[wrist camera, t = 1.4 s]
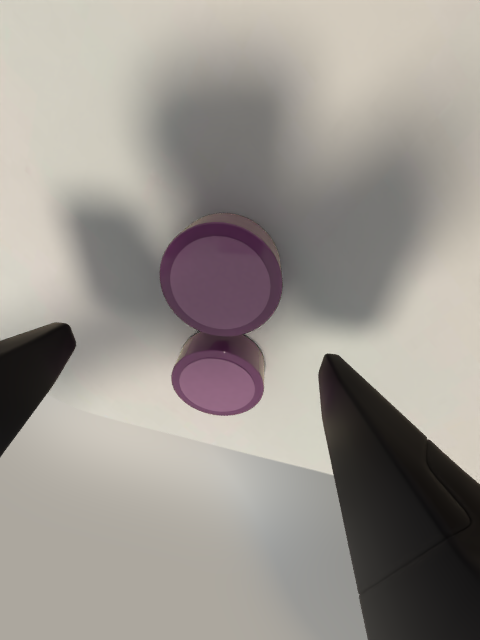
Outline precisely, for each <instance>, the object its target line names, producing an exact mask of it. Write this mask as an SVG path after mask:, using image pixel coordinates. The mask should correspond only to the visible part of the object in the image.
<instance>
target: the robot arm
mask: <svg viewBox="0 0 480 640" xmlns="http://www.w3.org/2000/svg"><path fill="white" fill-rule="evenodd" d="M75 347H76V341H75V338H74V335H73V333H72V330H71V327H70V326H69V325H68V324H66V323H52V324H49V325H46V326H43V327H40V328H37V329H34V330H31V331H28V332H25V333H22V334H19V335H16V336H13V337H10V338H7V339H5V340H2V341H0V457H1V455H2V454H3V453H4V451H5V450H6V448H7V447H8V446H9V444H10V443H11V442H12V440H13V439H14V438H15V436H16V435H17V434H18V432H19V431H20V430H21V428H22V427H23V426H24V424H25V423H26V421H27V420H28V419H29V417H30V416H31V415H32V413H33V412H34V411H35V409H36V408H37V406H38V405H39V404H40V402H41V401H42V400H43V398H44V397H45V396H46V394H47V393H48V392H49V390H50V389H51V387H52V386H53V384H54V383H55V381H56V380H57V378H58V376H59V375H60V373H61V371H62V370H63V368H64V366H65V365H66V363H67V361H68V360H69V358H70V356H71V355H72V353H73V351H74V349H75ZM318 378H319V390H320V401H321V412H322V420H323V426H324V431H325V435H326V440H327V445H328V450H329V454H330V459H331V464H332V469H333V474H334V478H335V483H336V488H337V493H338V497H339V502H340V507H341V512H342V517H343V522H344V526H345V531H346V535H347V541H348V546H349V550H350V555H351V560H352V564H353V570H354V574H355V578H356V584H357V589H358V593H359V594H360V595H359V599H360V604H361V609H362V614H363V618H364V623H365V628H366V633H367V637H368V640H480V484H479V483H477V482H476V481H475V480H474V479H473V478H472V477H470V476H469V475H468V474H467V473H466V472H465V471H463V470H462V469H461V468H460V467H459V466H458V465H457V464H456V463H454V462H453V461H452V460H451V459H450V458H449V457H448V456H447V455H446V454H445V453H443V452H442V451H441V450H440V449H439V448H438V447H437V446H436V445H435V444H434V443H433V442H432V441H430V440H427V437H426V436H425V435H424V434H423V433H422V432H421V431H420V430H419V429H417V428H416V427H415V426H414V425H413V424H412V423H411V422H410V421H409V420H408V419H407V418H406V417H405V416H403V415H402V414H401V413H400V412H399V411H398V410H397V409H396V408H395V407H394V406H393V405H392V404H391V403H389V402H388V401H387V400H386V399H385V398H384V397H383V396H382V395H381V394H380V393H379V392H378V391H377V390H376V389H374V388H373V387H372V386H371V385H370V384H369V383H368V382H367V381H366V380H365V379H364V378H363V377H362V376H360V375H359V374H358V373H357V372H356V371H355V370H354V369H353V368H352V367H351V366H350V365H349V364H348V363H346V362H345V361H344V360H343V359H342V358H341V357H340V356H339V355H336V354H325V356H324V358H323V361H322V364H321V367H320V370H319V375H318Z"/></svg>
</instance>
